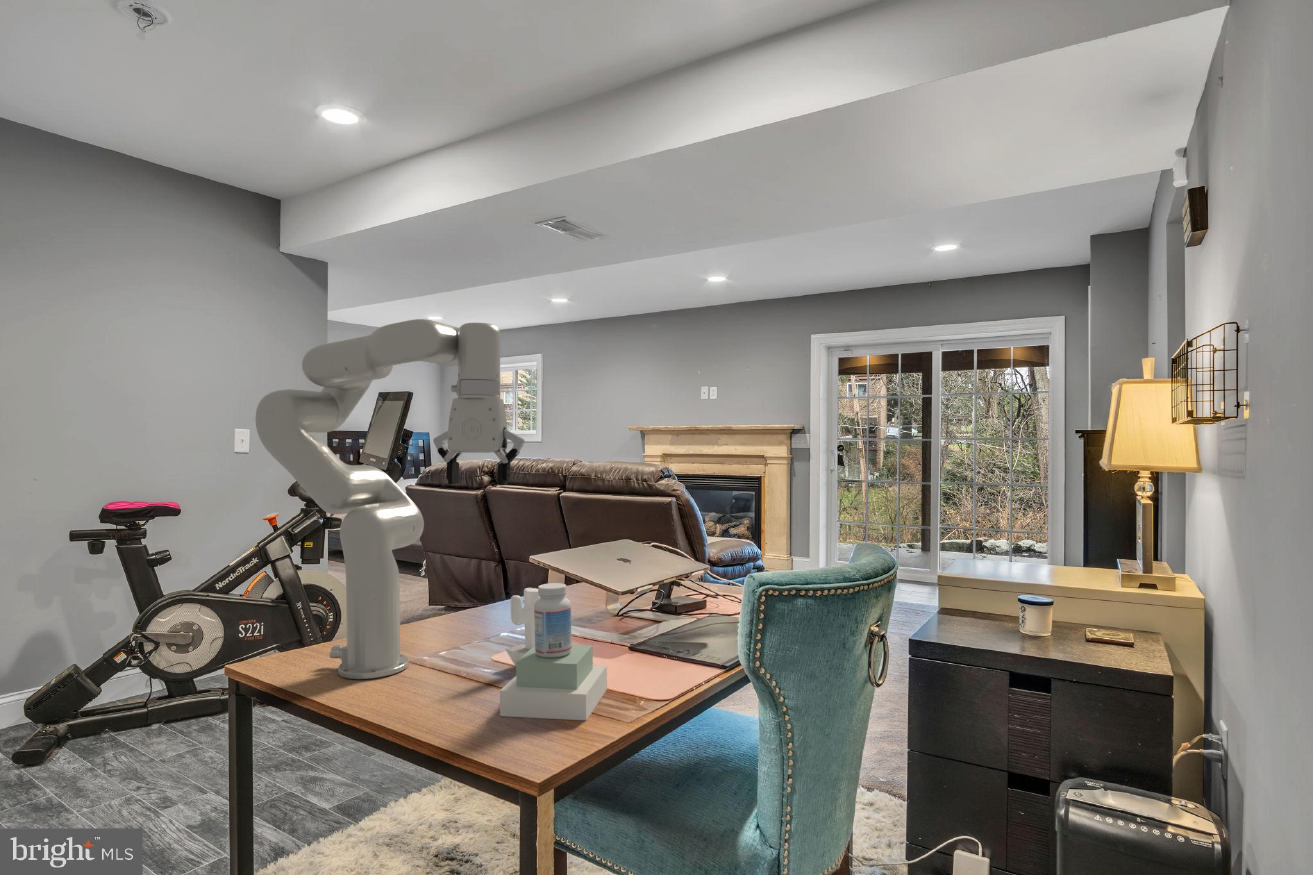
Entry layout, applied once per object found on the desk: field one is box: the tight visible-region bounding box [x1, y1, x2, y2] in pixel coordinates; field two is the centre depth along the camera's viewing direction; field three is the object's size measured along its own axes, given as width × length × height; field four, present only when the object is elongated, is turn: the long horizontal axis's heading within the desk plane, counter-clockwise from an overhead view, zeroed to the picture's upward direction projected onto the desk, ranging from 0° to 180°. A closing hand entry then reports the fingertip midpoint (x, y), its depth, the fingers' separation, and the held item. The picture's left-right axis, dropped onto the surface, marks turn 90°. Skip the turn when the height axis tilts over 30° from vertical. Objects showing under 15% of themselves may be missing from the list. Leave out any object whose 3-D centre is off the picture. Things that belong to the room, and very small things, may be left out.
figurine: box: [505, 587, 540, 667], centre depth 135 cm, size 7×9×15 cm
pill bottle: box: [534, 582, 573, 658], centre depth 116 cm, size 6×6×11 cm
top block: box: [515, 644, 594, 689], centre depth 116 cm, size 10×10×4 cm
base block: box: [499, 664, 608, 721], centre depth 116 cm, size 14×14×4 cm
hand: (478, 484), depth 129 cm, fingers open, 9 cm apart
